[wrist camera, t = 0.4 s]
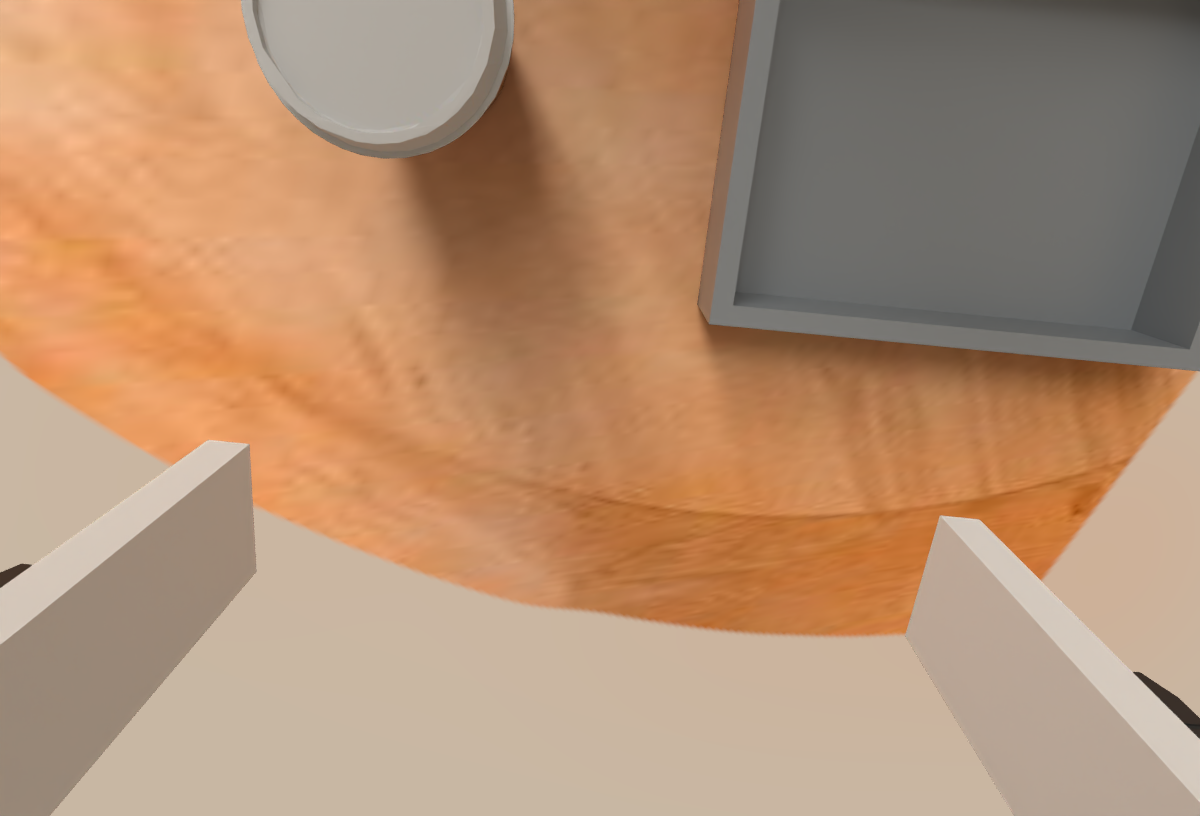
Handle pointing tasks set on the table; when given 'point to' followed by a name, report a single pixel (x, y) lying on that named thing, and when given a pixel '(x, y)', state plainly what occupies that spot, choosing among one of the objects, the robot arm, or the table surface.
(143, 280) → the table surface
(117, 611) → the robot arm
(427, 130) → the disposable coffee cup
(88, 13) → the table surface
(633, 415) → the table surface
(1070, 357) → the bin
